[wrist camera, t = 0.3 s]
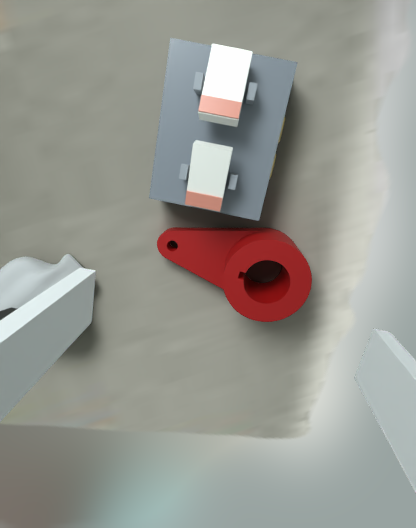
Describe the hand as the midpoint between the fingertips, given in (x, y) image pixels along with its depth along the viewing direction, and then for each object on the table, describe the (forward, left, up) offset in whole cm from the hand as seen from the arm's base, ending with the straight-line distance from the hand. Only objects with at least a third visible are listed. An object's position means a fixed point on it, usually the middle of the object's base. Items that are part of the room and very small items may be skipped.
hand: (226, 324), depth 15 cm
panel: (-9, -4, -26) cm, 28 cm away
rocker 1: (-13, -4, -19) cm, 23 cm away
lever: (+4, 0, -26) cm, 27 cm away
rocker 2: (-5, -4, -19) cm, 20 cm away
